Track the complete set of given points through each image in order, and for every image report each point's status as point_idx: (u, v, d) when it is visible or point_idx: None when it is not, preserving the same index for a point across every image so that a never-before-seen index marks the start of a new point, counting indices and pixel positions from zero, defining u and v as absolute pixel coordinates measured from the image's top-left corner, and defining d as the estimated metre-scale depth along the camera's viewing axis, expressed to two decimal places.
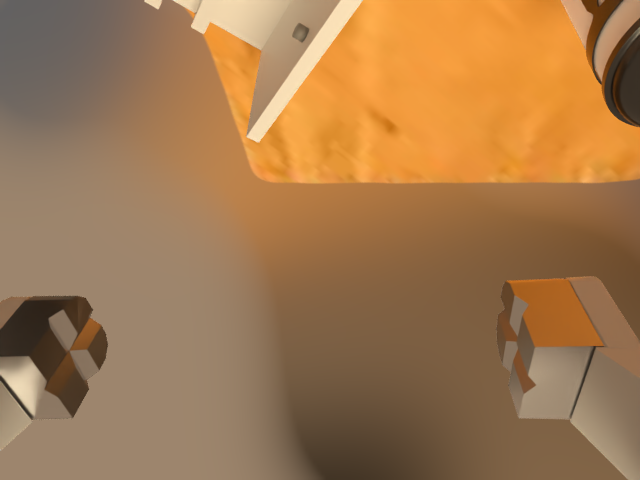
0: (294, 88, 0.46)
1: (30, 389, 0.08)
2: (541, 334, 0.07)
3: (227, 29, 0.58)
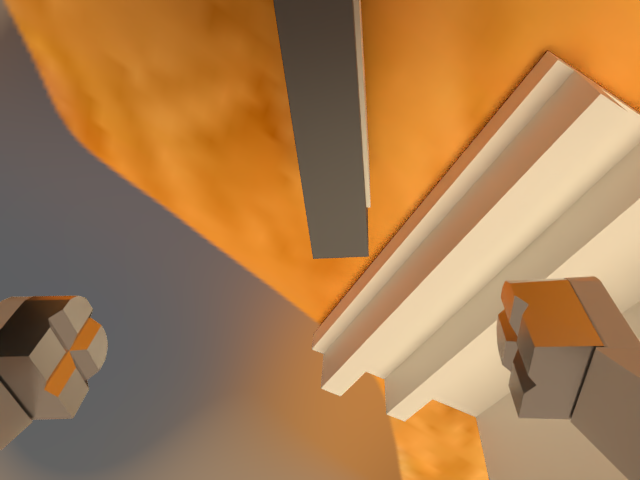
0: None
1: (30, 389, 0.08)
2: (541, 334, 0.07)
3: None
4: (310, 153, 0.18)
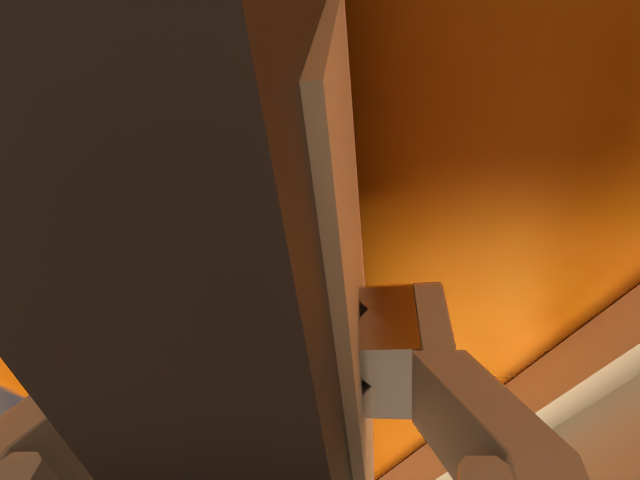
0: None
1: None
2: (369, 338, 0.07)
3: None
4: None
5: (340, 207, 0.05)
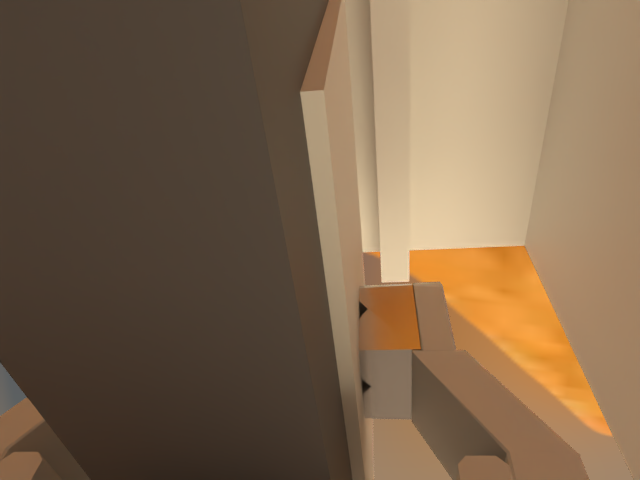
0: None
1: None
2: (369, 338, 0.07)
3: (444, 245, 0.29)
4: None
5: (340, 214, 0.05)
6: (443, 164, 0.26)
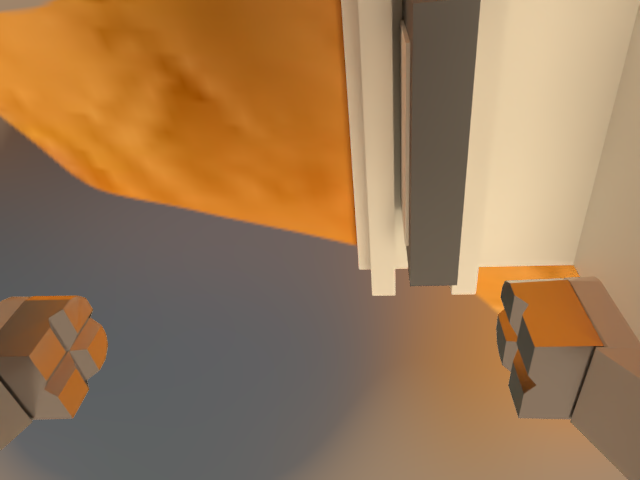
0: None
1: (30, 389, 0.08)
2: (541, 334, 0.07)
3: (503, 263, 0.34)
4: (421, 202, 0.23)
5: None
6: (508, 195, 0.31)
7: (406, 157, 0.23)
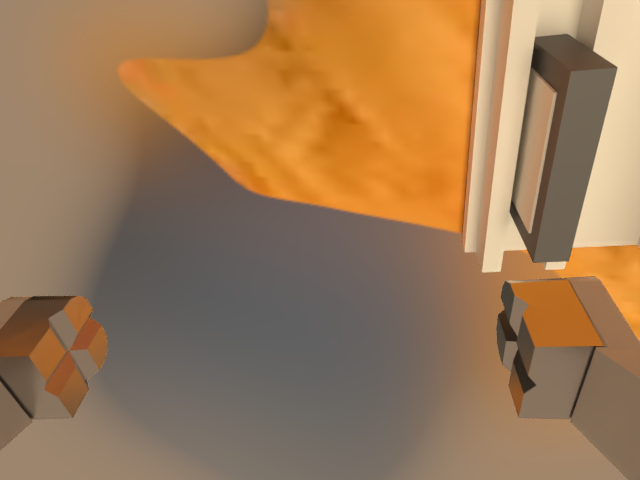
0: None
1: (30, 389, 0.08)
2: (541, 334, 0.07)
3: (581, 244, 0.43)
4: (553, 202, 0.32)
5: None
6: (591, 192, 0.40)
7: (540, 169, 0.32)
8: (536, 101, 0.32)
